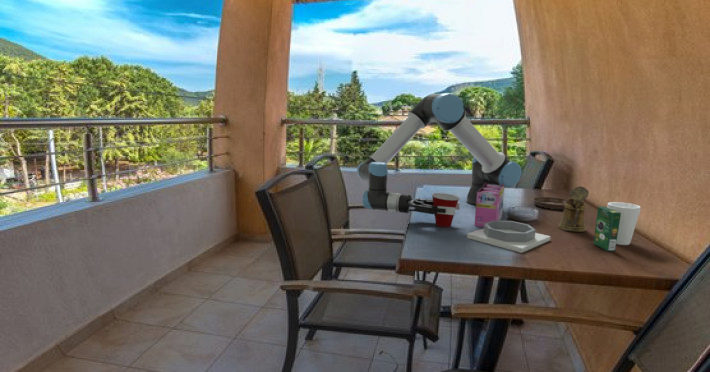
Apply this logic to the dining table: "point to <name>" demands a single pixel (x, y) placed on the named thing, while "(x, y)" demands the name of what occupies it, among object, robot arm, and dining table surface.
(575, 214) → the wooden mug
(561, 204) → the plant saucer
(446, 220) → the plastic cup
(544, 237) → the cup holder
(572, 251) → the dining table surface
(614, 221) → the coffee box
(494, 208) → the gum box
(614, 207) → the foam cup
